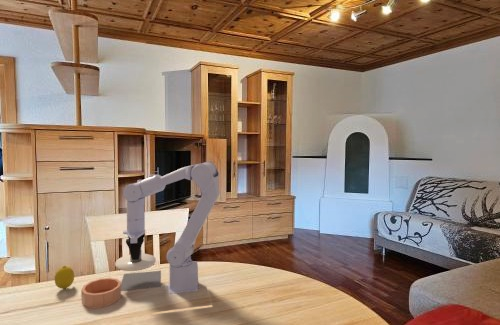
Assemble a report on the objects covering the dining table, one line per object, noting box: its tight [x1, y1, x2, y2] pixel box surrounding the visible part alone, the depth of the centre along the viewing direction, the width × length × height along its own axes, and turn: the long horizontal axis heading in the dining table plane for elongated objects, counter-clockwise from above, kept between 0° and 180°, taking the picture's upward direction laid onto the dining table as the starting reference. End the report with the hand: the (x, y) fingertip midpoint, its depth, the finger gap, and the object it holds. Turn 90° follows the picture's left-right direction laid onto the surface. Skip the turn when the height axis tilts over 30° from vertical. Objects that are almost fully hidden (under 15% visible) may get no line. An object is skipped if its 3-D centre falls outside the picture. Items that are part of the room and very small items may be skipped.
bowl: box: [80, 277, 122, 309], centre depth 96 cm, size 11×11×4 cm
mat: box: [121, 270, 162, 292], centre depth 109 cm, size 13×13×1 cm
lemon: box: [54, 265, 75, 290], centre depth 102 cm, size 6×6×8 cm
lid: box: [114, 248, 157, 272], centre depth 106 cm, size 13×13×4 cm
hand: (135, 257), depth 106 cm, fingers closed on lid, 4 cm apart
